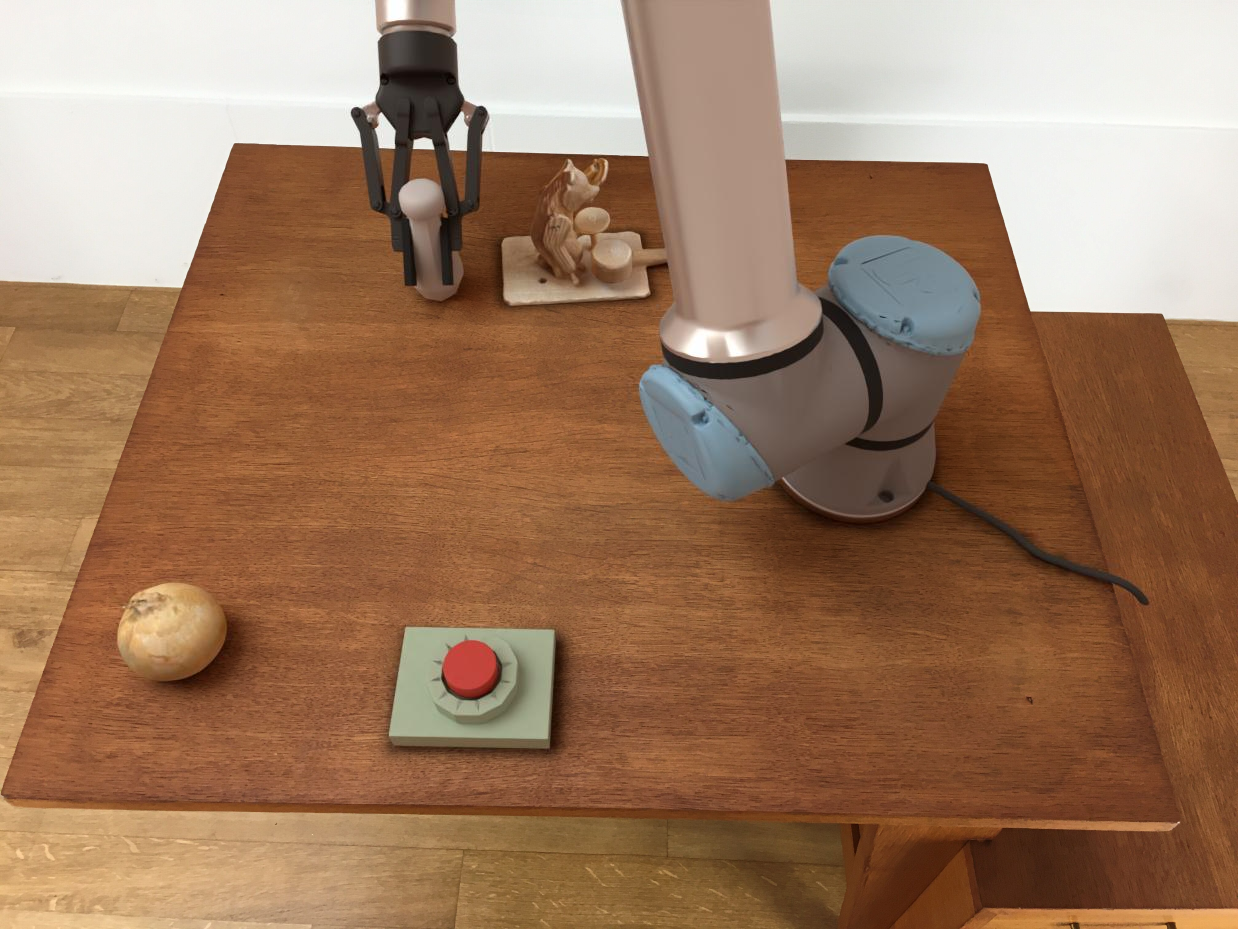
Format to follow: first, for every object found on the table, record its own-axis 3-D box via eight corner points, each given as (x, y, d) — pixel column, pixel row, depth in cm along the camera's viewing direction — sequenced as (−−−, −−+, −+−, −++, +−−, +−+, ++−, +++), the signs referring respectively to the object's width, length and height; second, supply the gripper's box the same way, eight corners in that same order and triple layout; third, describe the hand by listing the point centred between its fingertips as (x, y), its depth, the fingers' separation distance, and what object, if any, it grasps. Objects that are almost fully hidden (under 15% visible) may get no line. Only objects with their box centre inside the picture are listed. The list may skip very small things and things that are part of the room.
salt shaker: (456, 311, 101) (439, 212, 90) (404, 303, 101) (380, 204, 90) (472, 272, 104) (457, 173, 93) (421, 264, 104) (400, 165, 94)
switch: (500, 649, 75) (498, 640, 73) (496, 699, 73) (493, 690, 71) (449, 648, 75) (446, 639, 73) (443, 698, 73) (439, 689, 71)
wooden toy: (501, 306, 101) (488, 202, 90) (501, 239, 107) (489, 133, 96) (709, 298, 102) (722, 194, 91) (698, 232, 108) (709, 127, 97)
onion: (239, 597, 81) (210, 555, 75) (232, 686, 77) (202, 648, 71) (140, 610, 80) (104, 569, 75) (128, 700, 76) (88, 664, 70)
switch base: (555, 640, 79) (553, 619, 76) (549, 749, 74) (547, 730, 71) (410, 638, 79) (401, 616, 76) (393, 746, 74) (383, 727, 71)
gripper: (504, 46, 97) (512, 284, 101) (342, 47, 96) (357, 287, 100) (497, 26, 89) (507, 283, 93) (322, 27, 89) (339, 286, 93)
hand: (429, 285), depth 97 cm, fingers open, 3 cm apart
